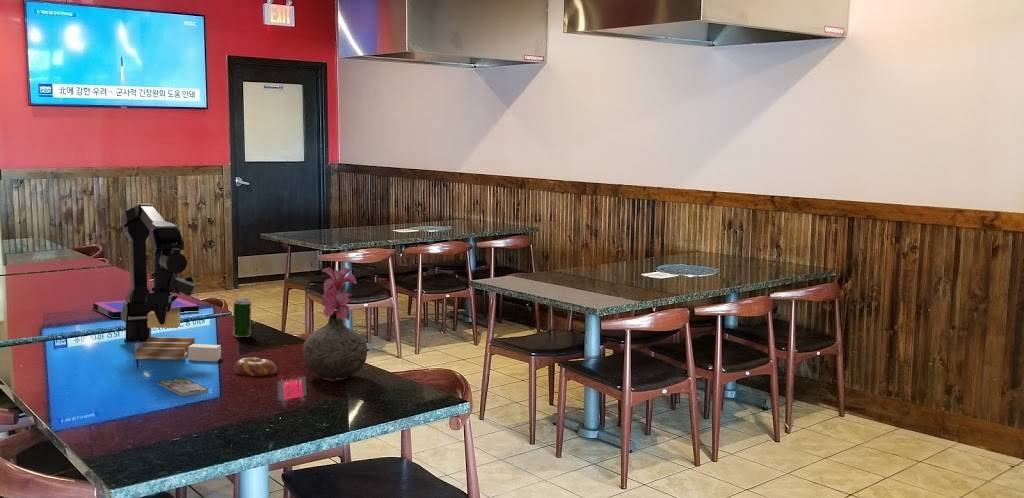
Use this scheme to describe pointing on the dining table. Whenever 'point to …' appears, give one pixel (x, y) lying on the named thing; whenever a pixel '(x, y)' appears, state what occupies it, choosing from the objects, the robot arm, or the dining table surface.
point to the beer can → (242, 318)
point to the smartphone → (183, 387)
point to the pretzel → (255, 367)
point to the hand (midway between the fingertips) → (163, 322)
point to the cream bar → (204, 352)
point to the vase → (335, 334)
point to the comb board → (164, 348)
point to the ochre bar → (170, 320)
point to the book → (117, 306)
